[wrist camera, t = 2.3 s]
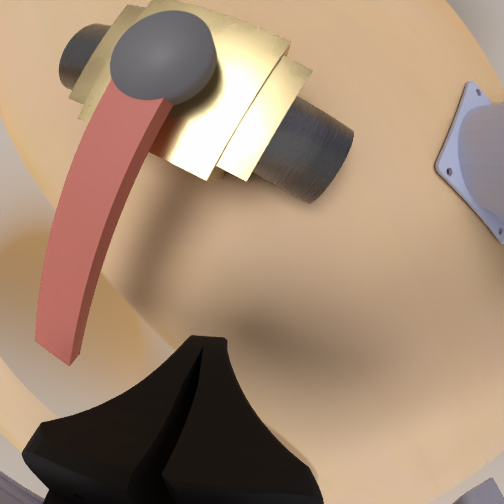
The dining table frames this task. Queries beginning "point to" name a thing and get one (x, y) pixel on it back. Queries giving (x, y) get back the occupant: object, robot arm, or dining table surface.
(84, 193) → the lever
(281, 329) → the dining table surface
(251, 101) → the valve fixture
